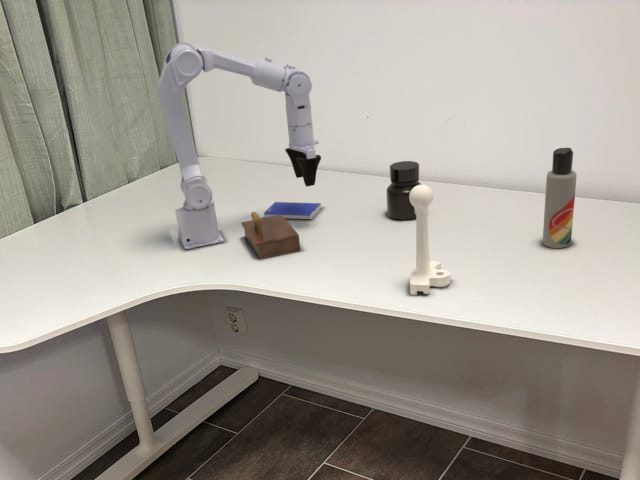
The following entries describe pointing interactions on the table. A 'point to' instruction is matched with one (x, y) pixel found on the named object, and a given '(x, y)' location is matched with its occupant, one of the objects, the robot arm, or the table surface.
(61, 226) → the table surface
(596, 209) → the table surface
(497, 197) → the table surface
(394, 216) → the ink bottle
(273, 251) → the case
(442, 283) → the joystick
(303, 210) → the hard drive
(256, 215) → the lid
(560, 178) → the lotion bottle
